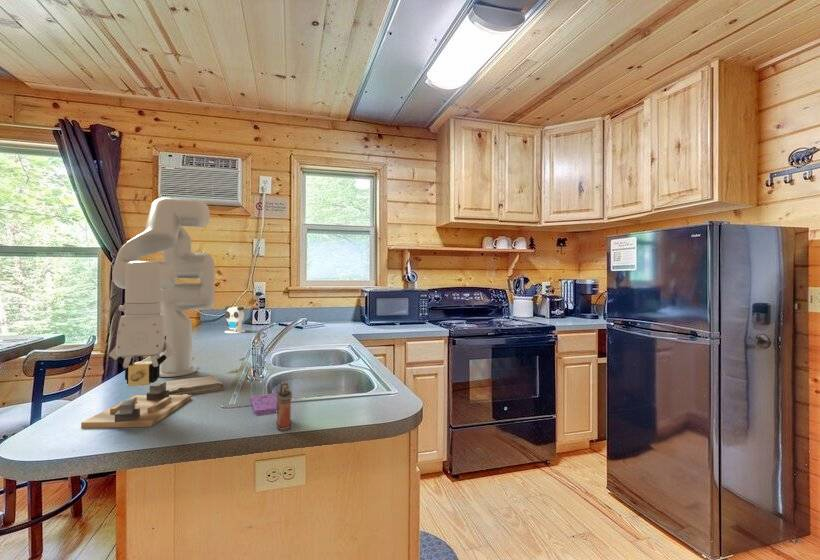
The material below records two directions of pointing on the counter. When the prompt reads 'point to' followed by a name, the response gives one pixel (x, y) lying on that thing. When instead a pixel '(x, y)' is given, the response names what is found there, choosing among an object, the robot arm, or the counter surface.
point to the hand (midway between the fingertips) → (142, 381)
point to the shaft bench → (143, 412)
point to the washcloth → (193, 385)
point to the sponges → (264, 403)
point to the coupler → (139, 373)
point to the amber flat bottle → (283, 408)
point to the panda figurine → (234, 319)
